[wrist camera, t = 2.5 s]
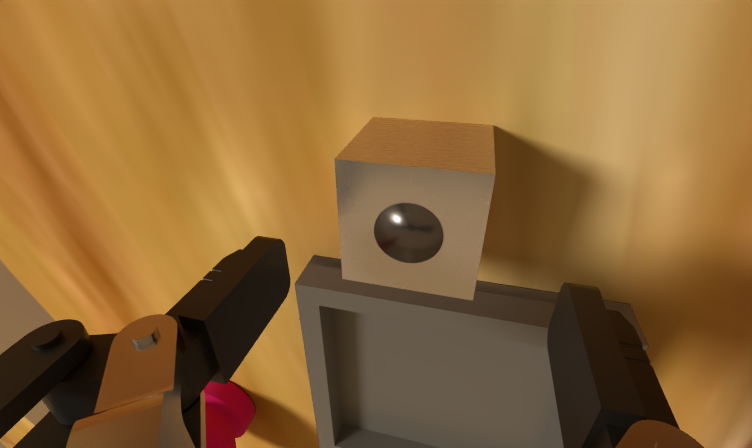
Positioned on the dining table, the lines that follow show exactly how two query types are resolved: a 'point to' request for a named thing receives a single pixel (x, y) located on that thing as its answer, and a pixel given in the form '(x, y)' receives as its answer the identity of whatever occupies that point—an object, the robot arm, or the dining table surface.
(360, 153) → the grey dotted cube
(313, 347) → the tray
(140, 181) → the dining table surface
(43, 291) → the dining table surface
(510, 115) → the dining table surface
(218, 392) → the pepper mill
